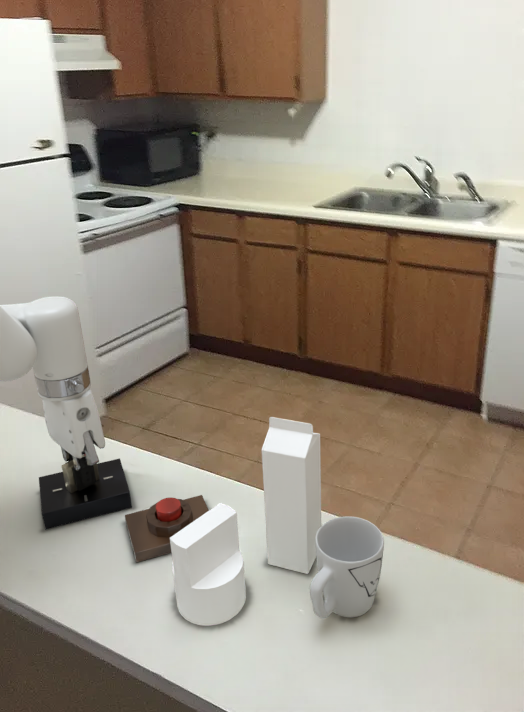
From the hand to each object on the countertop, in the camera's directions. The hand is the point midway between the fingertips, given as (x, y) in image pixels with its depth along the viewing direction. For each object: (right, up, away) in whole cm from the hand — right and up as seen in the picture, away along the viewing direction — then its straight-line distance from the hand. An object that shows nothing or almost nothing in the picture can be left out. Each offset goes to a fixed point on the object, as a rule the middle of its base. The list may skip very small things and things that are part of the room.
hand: (82, 482), depth 106 cm
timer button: (+15, -3, -7) cm, 17 cm away
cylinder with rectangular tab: (+23, -11, -18) cm, 31 cm away
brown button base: (+15, -6, -6) cm, 17 cm away
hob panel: (0, -3, +1) cm, 3 cm away
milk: (+33, -8, -12) cm, 36 cm away
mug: (+39, -11, -20) cm, 46 cm away
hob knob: (0, 0, 0) cm, 0 cm away
